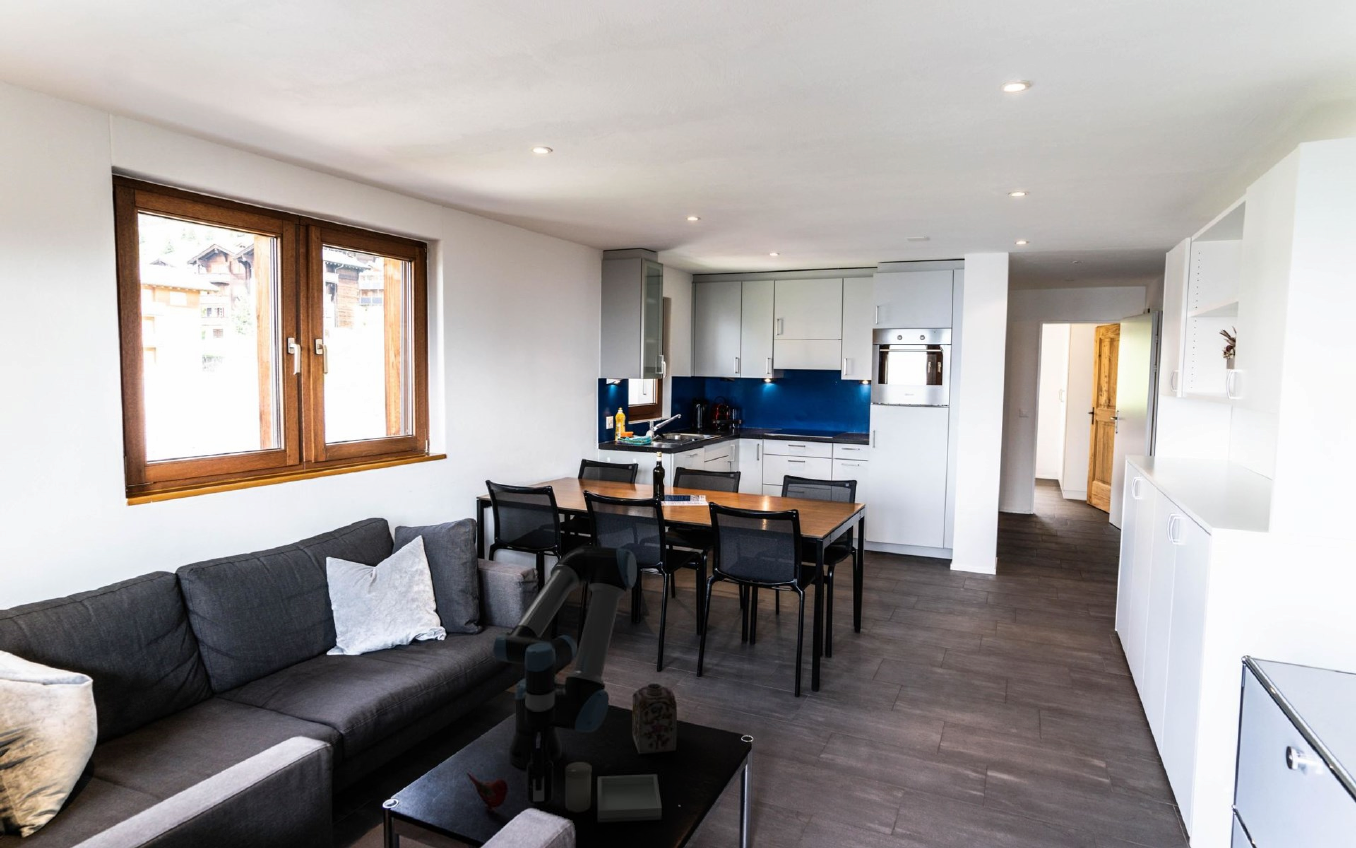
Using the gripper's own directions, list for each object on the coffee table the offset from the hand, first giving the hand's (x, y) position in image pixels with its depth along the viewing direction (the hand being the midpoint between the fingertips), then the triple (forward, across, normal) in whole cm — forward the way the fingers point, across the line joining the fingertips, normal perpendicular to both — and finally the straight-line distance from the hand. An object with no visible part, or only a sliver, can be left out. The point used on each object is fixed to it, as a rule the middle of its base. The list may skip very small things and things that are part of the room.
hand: (539, 792), depth 191 cm
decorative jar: (+5, -31, +32) cm, 44 cm away
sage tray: (+4, 0, +23) cm, 23 cm away
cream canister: (+4, 0, +10) cm, 11 cm away
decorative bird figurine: (+4, 0, -13) cm, 14 cm away
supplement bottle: (+2, 0, 0) cm, 2 cm away
